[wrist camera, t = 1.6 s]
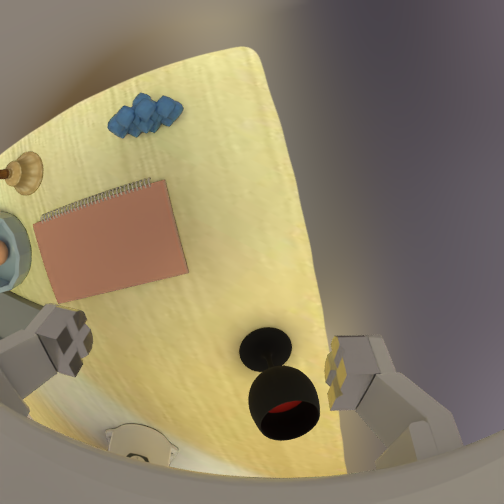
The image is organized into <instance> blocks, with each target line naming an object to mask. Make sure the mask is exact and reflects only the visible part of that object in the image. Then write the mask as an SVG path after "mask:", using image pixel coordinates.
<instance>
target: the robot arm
mask: <svg viewBox="0 0 504 504" xmlns="http://www.w3.org/2000/svg"><path fill="white" fill-rule="evenodd" d="M86 321H87V318H86V316H85V313H84V312H83V311H81V310H78V309H74V308H69V307H65V306H61V305H56V304H52V303H49V304H46V305H45V306H44V307H43V308H42V310H41V311H40V312H39V313H38V314H37V315H36V317H35V318H34V319H33V320H32V321H31V323H30V324H29V325H28V326H27V328H26V329H25V330H22V329H21V330H19V331H17V332H15V333H13V334H11V335H9V336H7V337H5V338H4V339H2V340H0V504H504V430H502V431H499V432H497V433H495V434H493V435H491V436H488V437H486V438H484V439H481V440H479V441H476V442H474V443H471V444H469V445H466V446H464V445H463V443H462V440H461V437H460V434H459V432H458V429H457V426H456V424H455V421H454V418H453V416H452V413H451V412H449V411H448V410H447V409H446V408H445V407H443V406H442V405H441V404H439V403H438V402H437V401H436V400H434V399H433V398H432V397H431V396H429V395H428V394H427V393H426V392H424V391H423V390H422V389H421V388H419V387H418V386H417V385H416V384H414V383H413V382H412V381H411V380H409V379H408V378H407V377H406V376H404V375H403V374H402V373H396V370H395V368H394V365H393V362H392V360H391V357H390V355H389V352H388V350H387V348H386V345H385V342H384V340H383V338H382V337H381V335H365V336H364V335H362V336H361V335H358V336H334V338H333V340H332V343H331V348H332V351H331V352H330V353H329V354H328V355H327V358H326V361H325V370H324V371H325V382H326V383H327V384H328V385H329V386H330V388H329V391H328V393H327V394H328V401H329V407H330V411H334V410H356V412H357V413H358V414H359V416H360V417H361V418H362V419H363V420H364V421H365V423H366V424H367V425H368V426H369V427H370V429H371V430H372V431H373V432H374V433H375V434H376V436H377V437H378V438H379V439H380V440H381V441H382V443H383V444H384V445H385V446H386V447H387V448H388V449H387V450H386V451H385V452H384V453H383V454H382V455H381V456H380V457H379V458H378V459H377V460H376V461H375V465H376V470H372V471H366V472H359V473H351V474H343V475H333V476H321V477H303V478H258V477H240V476H228V475H218V474H210V473H202V472H195V471H189V470H183V469H178V468H172V467H169V465H170V463H171V461H172V460H173V459H174V457H175V456H176V455H177V453H178V448H177V447H175V446H174V445H172V444H170V443H169V441H168V440H167V439H166V438H165V437H164V436H163V435H162V434H161V433H159V432H158V431H156V430H154V429H152V428H149V427H146V426H143V425H138V424H125V425H122V426H119V427H118V428H115V429H108V430H106V437H107V440H108V444H109V448H108V451H107V450H104V449H101V448H98V447H95V446H92V445H89V444H86V443H84V442H81V441H79V440H76V439H74V438H71V437H69V436H66V435H64V434H61V433H59V432H57V431H55V430H52V429H50V428H48V427H46V426H44V425H42V424H40V423H38V422H36V421H34V420H32V419H30V418H28V417H27V416H28V414H29V412H30V410H29V407H28V406H27V404H26V403H25V402H24V401H23V399H24V398H25V397H27V396H28V395H29V394H31V393H32V392H33V391H34V390H36V389H37V388H38V387H40V386H41V385H42V384H44V383H45V382H46V381H48V380H49V379H50V378H52V377H53V376H54V375H56V374H57V372H59V373H62V374H65V375H69V376H72V377H76V376H77V374H78V372H79V370H80V369H81V367H82V365H83V360H82V358H84V357H85V356H87V355H88V354H89V353H90V351H91V349H92V344H93V336H92V332H91V329H90V328H89V327H88V326H87V325H86V324H85V323H86Z"/></svg>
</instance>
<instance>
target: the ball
mask: <svg viewBox="0 0 504 504" xmlns="http://www.w3.org/2000/svg"><path fill="white" fill-rule="evenodd" d="M7 258H8V248H7V246H6V244H5V243H4V242H3V241H1V240H0V265H2V264H4V263H5V262H6V260H7Z"/></svg>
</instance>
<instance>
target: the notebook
mask: <svg viewBox="0 0 504 504" xmlns="http://www.w3.org/2000/svg"><path fill="white" fill-rule="evenodd" d="M149 179H151V178H150V177H149V178H148V184H147V185H146V184H145V180H146V179H144V186H141V182H142V180H140V181H139V184H140V187H137V183H138V181H136V182H135V185H136V188H133V184H134V182H133V183H132V184H130V183H129V184H128V190H127V191H126V190H125V186H127V185H124V192H122V191H121V187H123V186H120V193H118V192H117V188H118V189H119V187H117V188H116V194H115V195H114V190H115V188H114V189H112V190H109V191H105V198H103V196H102V194H104V192H102V193H101V194H100V193H99V194H100V195H101V198H102V199H99V194H98V200H95V196H97V195H94V196H91V197H88V198H90V200H91V203H89V202H88V198H85V199H86V200H87V204H85V199H84V200H83V199H82V200H83V201H84V205H82V204H81V203H82V200H81V201H80V200H79V201H78V202H80V205H81V206H78V202H74V203H71V204H68V205H65V207H66V206H67V210H68V211H66V210H65V207H64V206H63V207H64V212H62V208H63V207H62V208H59V209H61V213H59V209H56V210H53V211H50V212H48V213H49V217H50V218H48V213H45V214H47V215H46V217H47V219H45V214H43V215H44V220H43V221H42V216H43V215H42V216H41V221H40V222H38V223H35V224H33V227H34V231H35V235H36V239H37V242H38V246H39V249H40V253H41V256H42V259H43V263H44V266H45V269H46V272H47V275H48V278H49V280H50V283H51V286H52V289H53V291H54V294H55V297H56V299H57V302H58V304H60V303H65V302H69V301H73V300H77V299H82V298H86V297H90V296H94V295H99V294H103V293H107V292H111V291H115V290H120V289H124V288H128V287H132V286H136V285H141V284H145V283H149V282H153V281H157V280H161V279H166V278H170V277H174V276H178V275H182V274H186V273H189V271H188V268H187V264H186V261H185V257H184V253H183V250H182V246H181V242H180V239H179V235H178V231H177V227H176V223H175V219H174V215H173V211H172V207H171V203H170V199H169V195H168V191H167V186H166V182H165V180H161V181H158V182H154V183H151V184H150V181H149ZM129 185H131V186H132V189H130V190H129ZM110 191H112V194H113V195H111V196H110ZM106 192H108V194H109V196H108V197H106ZM92 197H94V202H92ZM75 203H77V208H75ZM72 204H74V209H72ZM69 205H70V208H71V210H69ZM57 210H58V215H57V214H56V211H57ZM54 211H55V216H54V215H53V212H54ZM51 212H52V216H53V217H51V216H50V213H51Z"/></svg>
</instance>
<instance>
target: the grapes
mask: <svg viewBox="0 0 504 504" xmlns="http://www.w3.org/2000/svg"><path fill="white" fill-rule="evenodd" d="M132 105H133V106H132V107H128V106H123V107H122V108H121V109H120V110H119V111H118V113H117V114H115V115H114V116H113V117H112V118H111V119H110V121H109V122H108V129H109V131H111V132H112V133H114V135H116V136H118V137H120V138H124V137H125V136H126V135H127V133H128V134H130V135H132V136H134V137H138V136H139V135H140V133H141V132H144V133H148V132H149V131H150V132H153V133H155V132H156V131H157V129H158V128H159V127H160V125H161V123H162V124H163V125H166V126H170V125H171V124H172V123H173V122H174V121H175V120H176V119H177V118H178V117H179V116H180V114H181V113H182V111H183V106H182V104H180V103H179V102H177V101H174V100H173V99H171V98H170V97H167V96H162V97H161V98H160V99H159V100H158V101H157V102H155V101H153V100H151V97H150V96H149V95H147V94H144V93H140V94H138V95H137V96H136V98H135V99H134V100H133V104H132Z"/></svg>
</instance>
